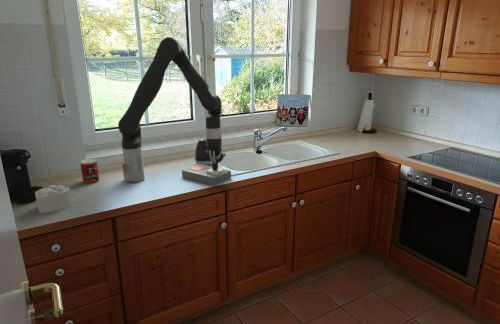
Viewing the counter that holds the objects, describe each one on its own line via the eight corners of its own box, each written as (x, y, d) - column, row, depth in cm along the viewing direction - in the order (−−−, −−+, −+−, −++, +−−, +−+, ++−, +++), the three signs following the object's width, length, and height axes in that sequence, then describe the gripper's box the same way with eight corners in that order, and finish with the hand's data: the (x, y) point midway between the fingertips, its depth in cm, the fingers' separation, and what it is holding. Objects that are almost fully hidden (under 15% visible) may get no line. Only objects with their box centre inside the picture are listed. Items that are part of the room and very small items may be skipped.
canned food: (83, 185, 182) (80, 163, 179) (82, 180, 189) (79, 159, 185) (100, 182, 185) (97, 161, 182) (98, 177, 192) (95, 157, 189)
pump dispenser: (216, 164, 212) (215, 138, 207) (202, 168, 204) (201, 142, 200) (205, 160, 218) (203, 135, 214) (191, 164, 211) (189, 139, 206)
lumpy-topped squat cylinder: (37, 206, 158) (33, 187, 156) (70, 199, 165) (67, 181, 163) (39, 214, 150) (35, 195, 148) (74, 207, 157) (71, 188, 154)
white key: (216, 179, 182) (215, 172, 181) (206, 177, 185) (206, 170, 184) (223, 175, 187) (223, 169, 186) (214, 173, 190) (214, 167, 189)
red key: (198, 177, 189) (197, 170, 188) (189, 175, 192) (189, 168, 191) (205, 173, 194) (205, 167, 193) (197, 171, 197) (197, 165, 196)
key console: (214, 185, 179) (214, 178, 178) (182, 177, 191) (181, 170, 190) (231, 178, 189) (230, 170, 188) (199, 170, 201) (198, 163, 200)
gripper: (198, 136, 181) (200, 169, 186) (219, 139, 173) (220, 174, 179) (208, 133, 186) (210, 165, 192) (229, 136, 179) (230, 170, 184)
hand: (215, 169), depth 185 cm, fingers closed
